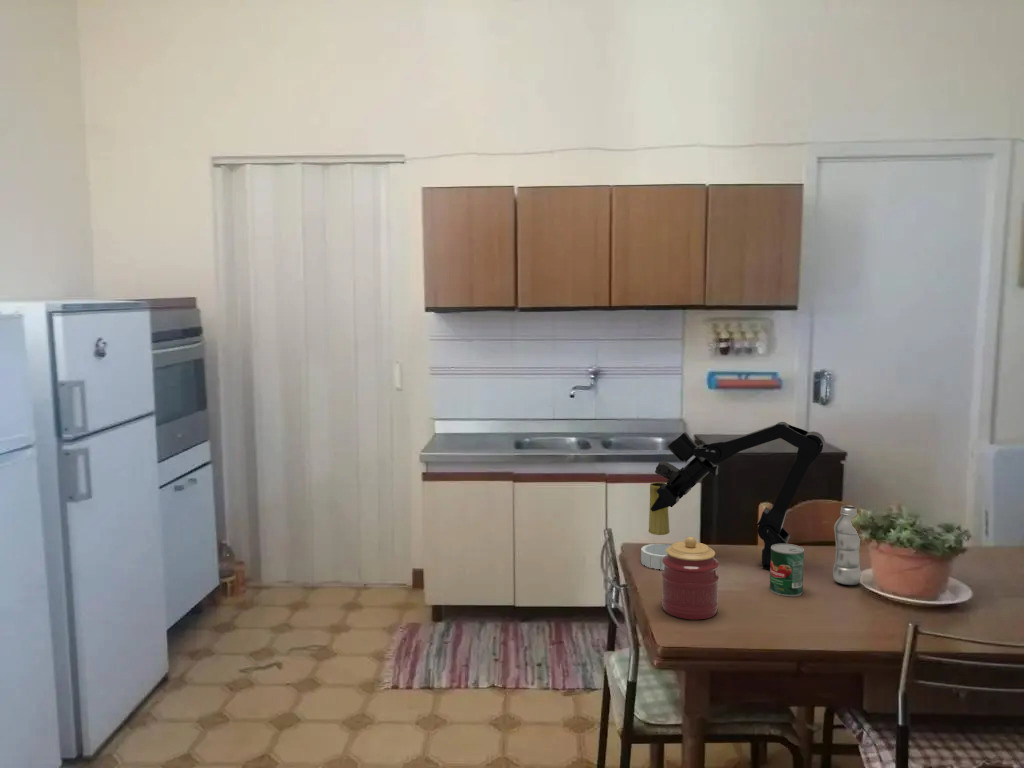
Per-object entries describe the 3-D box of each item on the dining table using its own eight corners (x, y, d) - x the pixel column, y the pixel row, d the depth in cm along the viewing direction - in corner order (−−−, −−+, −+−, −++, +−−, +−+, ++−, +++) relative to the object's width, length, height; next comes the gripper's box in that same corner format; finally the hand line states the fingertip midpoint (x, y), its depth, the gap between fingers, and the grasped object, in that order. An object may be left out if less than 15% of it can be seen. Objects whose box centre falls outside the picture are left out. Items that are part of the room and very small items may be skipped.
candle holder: (686, 560, 215) (686, 547, 214) (675, 572, 205) (675, 558, 205) (648, 554, 220) (648, 541, 220) (636, 566, 210) (636, 552, 210)
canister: (677, 623, 172) (678, 547, 170) (652, 602, 184) (652, 531, 183) (728, 617, 175) (730, 542, 174) (700, 596, 188) (701, 527, 186)
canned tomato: (765, 592, 191) (766, 549, 190) (775, 582, 197) (776, 541, 196) (797, 599, 186) (798, 555, 185) (807, 589, 192) (808, 547, 191)
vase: (665, 536, 218) (665, 487, 217) (645, 533, 222) (645, 485, 220) (672, 531, 224) (672, 483, 222) (652, 528, 227) (652, 481, 225)
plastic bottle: (865, 588, 193) (868, 510, 191) (838, 588, 193) (840, 510, 191) (854, 579, 199) (857, 504, 197) (828, 579, 199) (830, 504, 197)
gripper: (680, 447, 227) (644, 480, 233) (663, 458, 210) (625, 494, 216) (706, 475, 224) (669, 508, 230) (692, 488, 208) (652, 524, 213)
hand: (654, 507), depth 223 cm, fingers closed on vase, 5 cm apart
